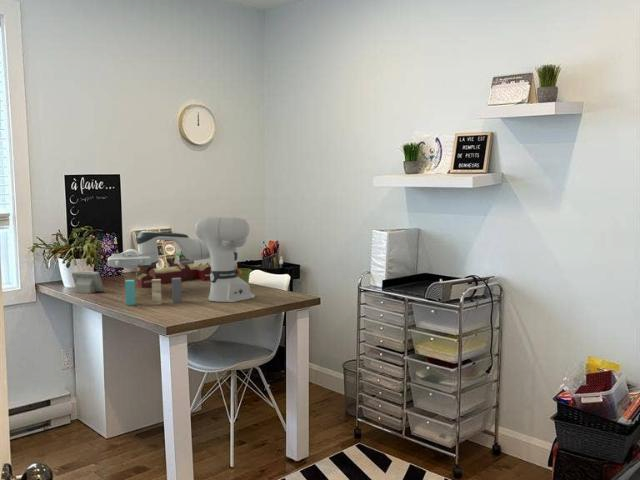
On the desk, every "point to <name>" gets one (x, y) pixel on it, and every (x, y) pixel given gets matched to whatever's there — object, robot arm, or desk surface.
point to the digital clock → (87, 281)
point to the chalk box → (183, 259)
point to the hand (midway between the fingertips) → (129, 263)
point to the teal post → (130, 292)
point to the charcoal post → (176, 290)
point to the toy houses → (175, 274)
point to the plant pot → (244, 274)
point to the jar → (144, 270)
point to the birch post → (156, 291)
